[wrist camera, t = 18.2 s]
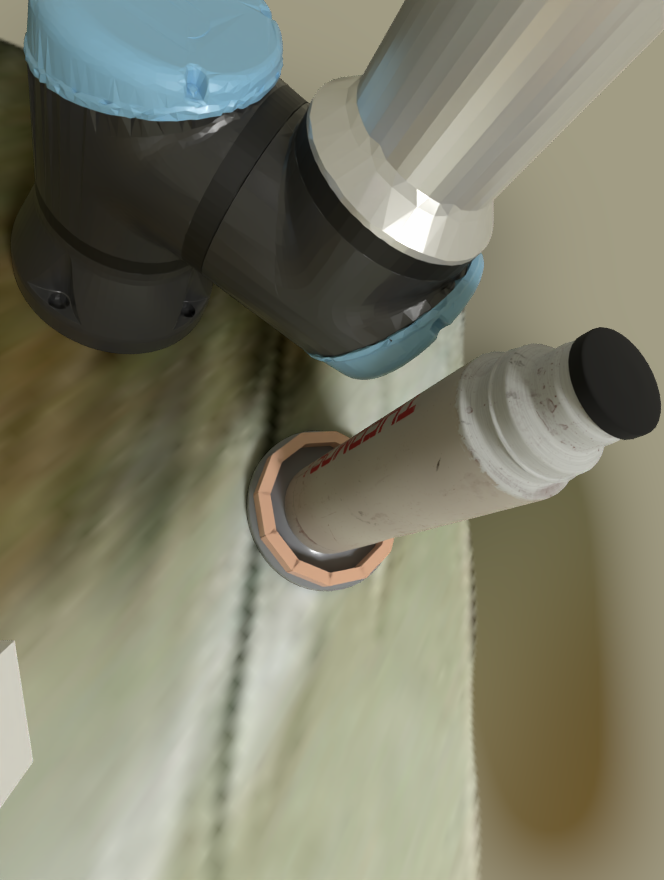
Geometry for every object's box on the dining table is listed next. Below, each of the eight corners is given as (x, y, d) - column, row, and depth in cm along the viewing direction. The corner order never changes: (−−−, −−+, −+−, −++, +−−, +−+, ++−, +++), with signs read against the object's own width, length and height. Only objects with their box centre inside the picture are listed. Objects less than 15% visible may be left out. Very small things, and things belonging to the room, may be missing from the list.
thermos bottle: (268, 483, 43) (525, 311, 19) (341, 450, 47) (624, 276, 24) (310, 571, 42) (629, 501, 19) (380, 529, 46) (711, 430, 23)
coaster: (234, 437, 44) (242, 429, 42) (372, 430, 50) (383, 423, 49) (261, 607, 40) (270, 606, 39) (404, 574, 47) (417, 572, 45)
